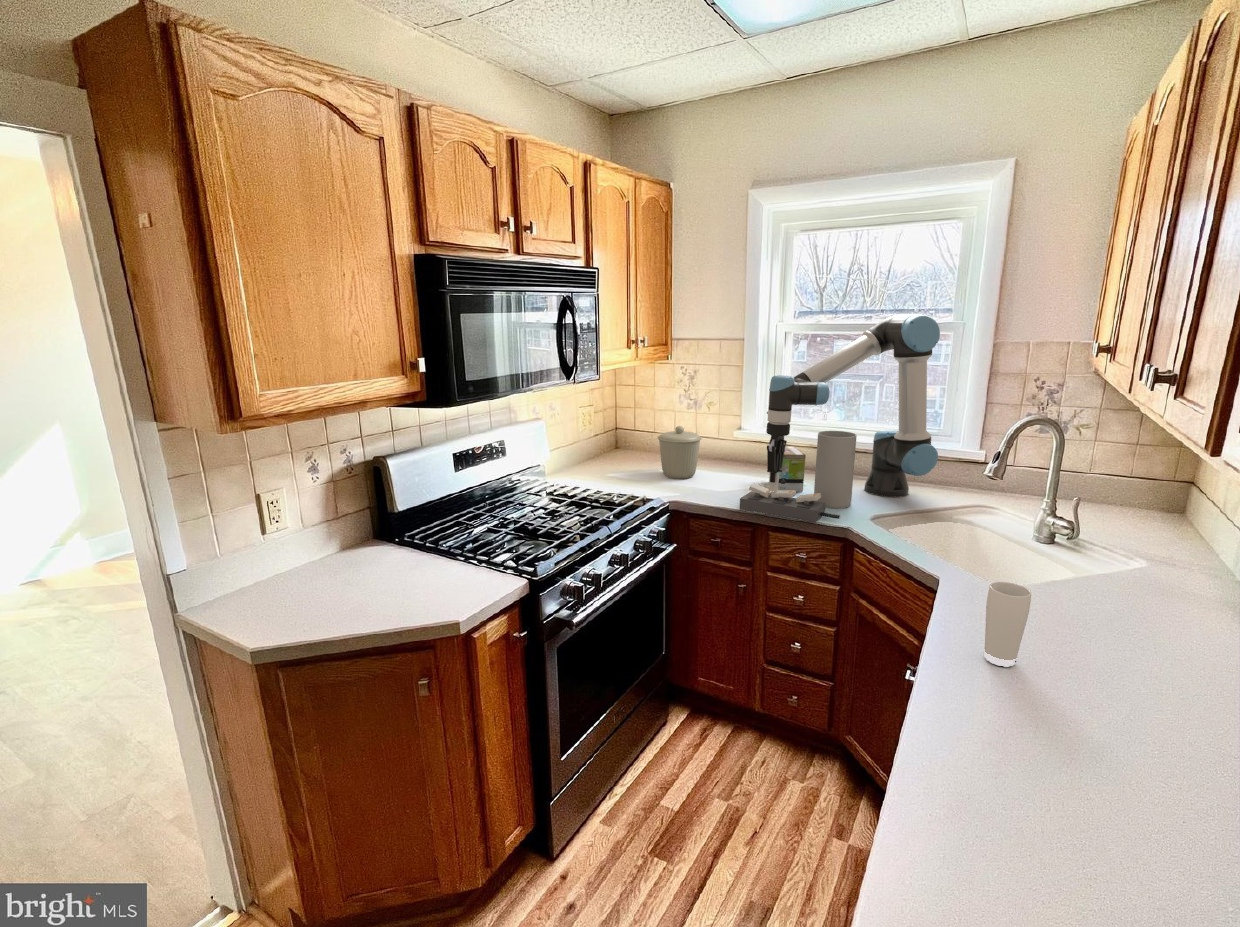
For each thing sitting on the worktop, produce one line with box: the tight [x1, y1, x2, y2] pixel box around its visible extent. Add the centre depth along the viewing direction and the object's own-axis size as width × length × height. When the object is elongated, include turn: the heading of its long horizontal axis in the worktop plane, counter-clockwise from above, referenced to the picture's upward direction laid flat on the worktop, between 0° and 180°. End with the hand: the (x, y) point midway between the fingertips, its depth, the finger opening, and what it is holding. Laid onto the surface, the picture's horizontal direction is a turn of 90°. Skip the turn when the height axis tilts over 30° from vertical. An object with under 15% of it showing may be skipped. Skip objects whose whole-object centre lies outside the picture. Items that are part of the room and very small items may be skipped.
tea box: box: [778, 446, 807, 493], centre depth 235 cm, size 15×10×15 cm
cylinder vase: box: [813, 430, 858, 510], centre depth 212 cm, size 12×12×25 cm
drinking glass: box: [984, 581, 1032, 660], centre depth 115 cm, size 7×7×15 cm
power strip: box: [739, 491, 841, 523], centre depth 205 cm, size 32×10×5 cm, turn 56°
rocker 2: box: [771, 490, 797, 498], centre depth 207 cm, size 7×4×2 cm, turn 56°
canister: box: [656, 425, 703, 480], centre depth 252 cm, size 18×18×21 cm
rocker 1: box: [748, 483, 774, 498], centre depth 212 cm, size 7×4×2 cm, turn 56°
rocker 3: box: [795, 493, 821, 502], centre depth 203 cm, size 7×4×2 cm, turn 56°
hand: (773, 490), depth 209 cm, fingers closed
